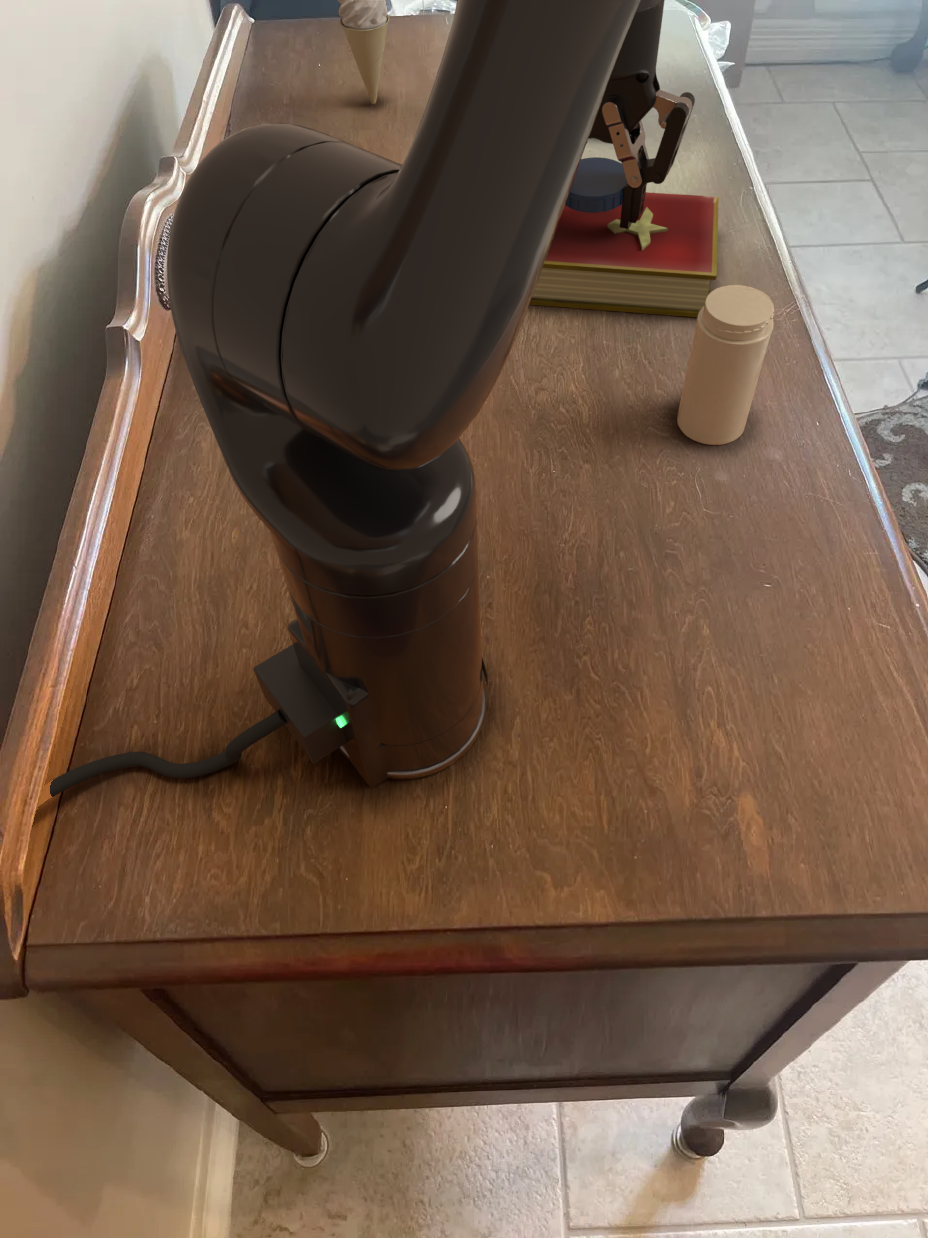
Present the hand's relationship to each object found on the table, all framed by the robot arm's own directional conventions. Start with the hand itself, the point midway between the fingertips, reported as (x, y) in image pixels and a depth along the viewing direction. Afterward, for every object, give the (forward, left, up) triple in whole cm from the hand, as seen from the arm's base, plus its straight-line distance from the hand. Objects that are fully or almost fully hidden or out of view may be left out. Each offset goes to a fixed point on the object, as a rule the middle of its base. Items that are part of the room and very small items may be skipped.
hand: (591, 215), depth 77 cm
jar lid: (0, 0, +3) cm, 3 cm away
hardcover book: (0, 0, -5) cm, 5 cm away
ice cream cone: (+2, +37, +3) cm, 37 cm away
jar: (-6, -21, -5) cm, 22 cm away
